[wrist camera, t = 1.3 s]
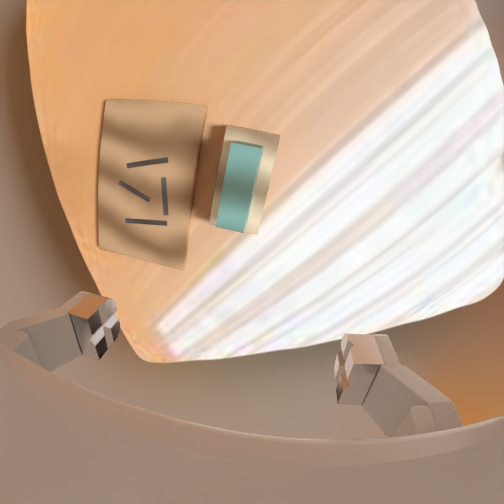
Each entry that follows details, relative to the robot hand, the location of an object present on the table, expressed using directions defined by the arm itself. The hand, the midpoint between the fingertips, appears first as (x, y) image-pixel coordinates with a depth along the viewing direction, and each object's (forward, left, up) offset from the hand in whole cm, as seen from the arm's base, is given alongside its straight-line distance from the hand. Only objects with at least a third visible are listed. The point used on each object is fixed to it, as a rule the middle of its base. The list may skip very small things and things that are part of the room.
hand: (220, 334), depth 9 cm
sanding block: (0, -2, -27) cm, 28 cm away
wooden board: (+3, -15, -27) cm, 31 cm away
